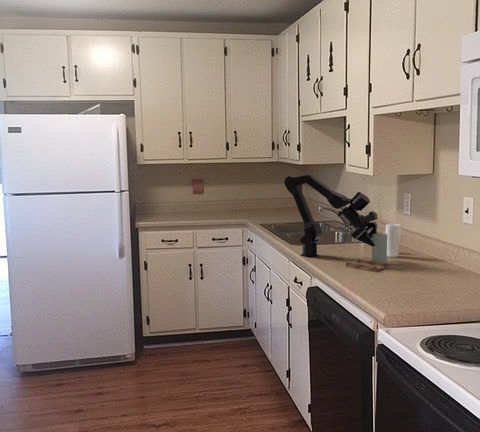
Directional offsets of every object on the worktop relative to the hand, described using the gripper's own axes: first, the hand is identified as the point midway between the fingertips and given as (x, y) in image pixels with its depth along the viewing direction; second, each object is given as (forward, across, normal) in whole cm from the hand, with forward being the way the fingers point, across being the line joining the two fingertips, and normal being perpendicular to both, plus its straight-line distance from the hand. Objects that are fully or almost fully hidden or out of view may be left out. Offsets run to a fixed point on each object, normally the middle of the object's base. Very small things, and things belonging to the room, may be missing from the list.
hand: (377, 244), depth 239 cm
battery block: (+7, 0, +5) cm, 9 cm away
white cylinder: (+7, +18, +5) cm, 20 cm away
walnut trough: (+5, -10, +7) cm, 13 cm away
